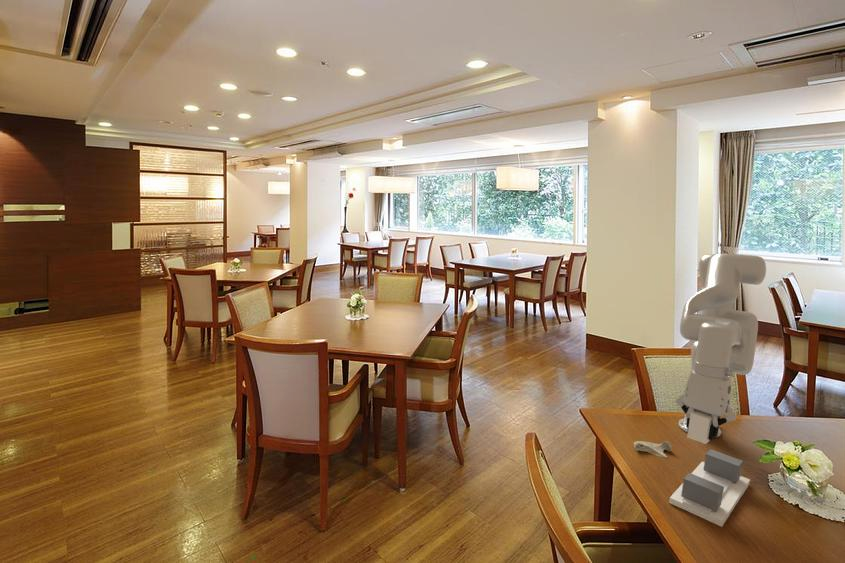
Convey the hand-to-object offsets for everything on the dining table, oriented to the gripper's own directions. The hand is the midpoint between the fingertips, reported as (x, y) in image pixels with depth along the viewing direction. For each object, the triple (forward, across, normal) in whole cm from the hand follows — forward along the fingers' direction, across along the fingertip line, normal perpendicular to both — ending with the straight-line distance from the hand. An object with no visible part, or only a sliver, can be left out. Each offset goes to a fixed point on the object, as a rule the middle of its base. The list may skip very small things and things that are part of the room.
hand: (701, 433), depth 128 cm
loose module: (+1, 0, 0) cm, 1 cm away
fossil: (+16, +15, -11) cm, 25 cm away
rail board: (+15, -4, 0) cm, 16 cm away
